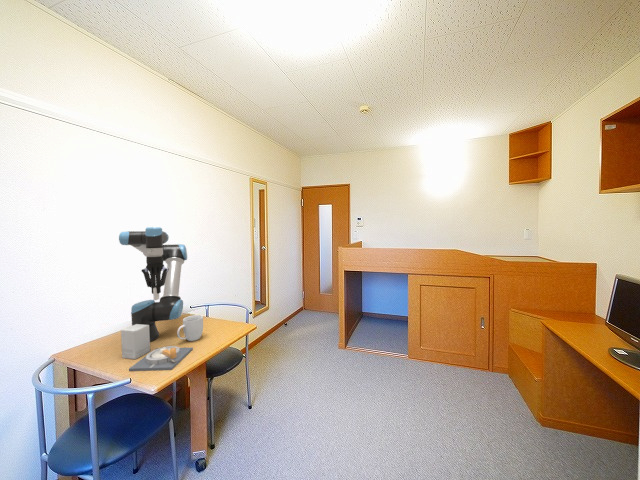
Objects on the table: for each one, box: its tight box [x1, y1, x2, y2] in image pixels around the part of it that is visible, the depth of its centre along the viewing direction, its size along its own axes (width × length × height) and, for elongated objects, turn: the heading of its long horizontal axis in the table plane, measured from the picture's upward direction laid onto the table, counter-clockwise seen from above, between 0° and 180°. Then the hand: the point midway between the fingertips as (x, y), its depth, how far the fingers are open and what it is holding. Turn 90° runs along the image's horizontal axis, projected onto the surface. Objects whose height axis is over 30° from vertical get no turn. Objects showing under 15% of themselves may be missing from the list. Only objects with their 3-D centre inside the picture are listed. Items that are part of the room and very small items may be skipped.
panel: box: [128, 345, 194, 372], centre depth 125 cm, size 20×20×4 cm
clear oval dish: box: [151, 347, 176, 359], centre depth 123 cm, size 16×10×6 cm, turn 58°
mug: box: [176, 314, 204, 342], centre depth 147 cm, size 15×11×13 cm
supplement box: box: [120, 324, 151, 360], centre depth 130 cm, size 9×9×15 cm
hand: (156, 299), depth 131 cm, fingers closed
